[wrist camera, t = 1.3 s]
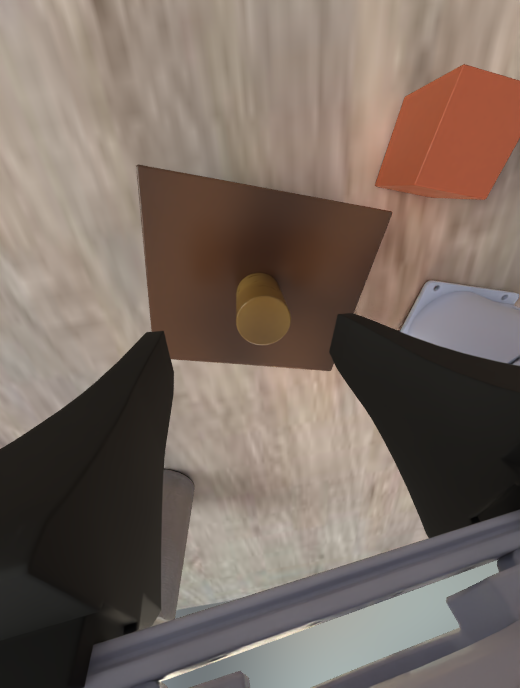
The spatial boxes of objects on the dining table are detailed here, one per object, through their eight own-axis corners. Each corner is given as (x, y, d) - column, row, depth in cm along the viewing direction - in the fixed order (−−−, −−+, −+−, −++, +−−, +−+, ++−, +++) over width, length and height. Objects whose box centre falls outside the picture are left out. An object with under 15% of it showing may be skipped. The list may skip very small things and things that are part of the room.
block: (469, 113, 15) (548, 88, 11) (431, 197, 18) (485, 199, 14) (404, 96, 15) (464, 63, 11) (374, 186, 17) (414, 185, 13)
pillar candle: (170, 509, 39) (138, 661, 26) (111, 490, 35) (40, 660, 22) (208, 482, 36) (192, 642, 23) (149, 458, 32) (89, 637, 19)
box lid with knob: (383, 210, 13) (443, 218, 10) (326, 363, 19) (350, 408, 15) (143, 166, 12) (95, 153, 8) (158, 349, 17) (134, 397, 13)
